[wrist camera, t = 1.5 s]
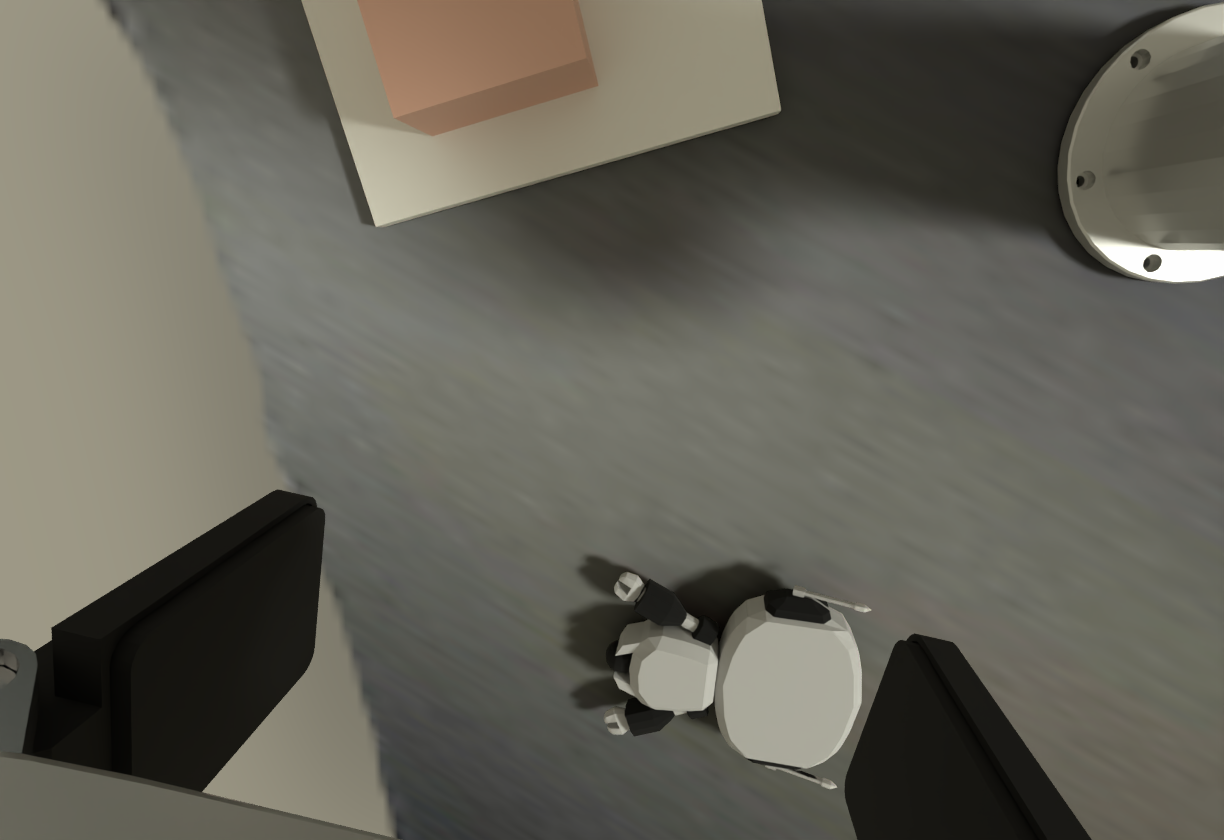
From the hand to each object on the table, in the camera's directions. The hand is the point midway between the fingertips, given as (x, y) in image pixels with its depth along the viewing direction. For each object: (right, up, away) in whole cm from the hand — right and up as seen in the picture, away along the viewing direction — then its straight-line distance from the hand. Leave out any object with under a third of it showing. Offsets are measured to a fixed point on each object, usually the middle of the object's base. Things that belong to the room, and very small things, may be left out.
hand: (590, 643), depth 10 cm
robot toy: (+8, -11, +31) cm, 34 cm away
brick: (-6, +24, +22) cm, 33 cm away
